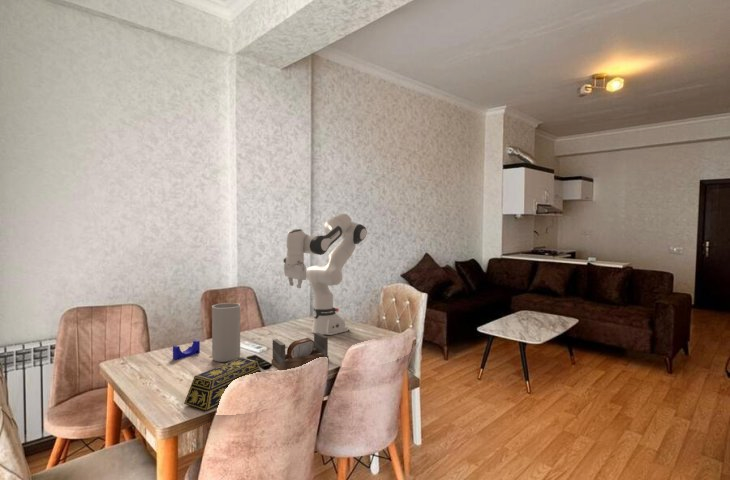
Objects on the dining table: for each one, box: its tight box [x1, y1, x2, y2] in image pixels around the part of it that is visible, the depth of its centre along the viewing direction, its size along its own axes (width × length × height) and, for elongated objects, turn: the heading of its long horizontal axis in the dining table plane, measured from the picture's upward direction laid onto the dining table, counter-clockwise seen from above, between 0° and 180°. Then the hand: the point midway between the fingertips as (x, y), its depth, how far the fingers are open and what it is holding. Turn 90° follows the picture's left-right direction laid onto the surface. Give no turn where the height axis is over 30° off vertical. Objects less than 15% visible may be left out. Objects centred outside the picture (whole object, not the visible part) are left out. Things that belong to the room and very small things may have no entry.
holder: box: [271, 332, 330, 371], centre depth 179 cm, size 24×10×11 cm, turn 124°
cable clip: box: [172, 339, 201, 361], centre depth 187 cm, size 12×4×6 cm, turn 147°
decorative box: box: [183, 356, 262, 411], centre depth 148 cm, size 11×30×9 cm, turn 153°
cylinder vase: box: [211, 302, 241, 363], centre depth 183 cm, size 12×12×25 cm
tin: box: [286, 337, 315, 359], centre depth 179 cm, size 15×3×8 cm, turn 141°
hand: (295, 286), depth 203 cm, fingers open, 8 cm apart
